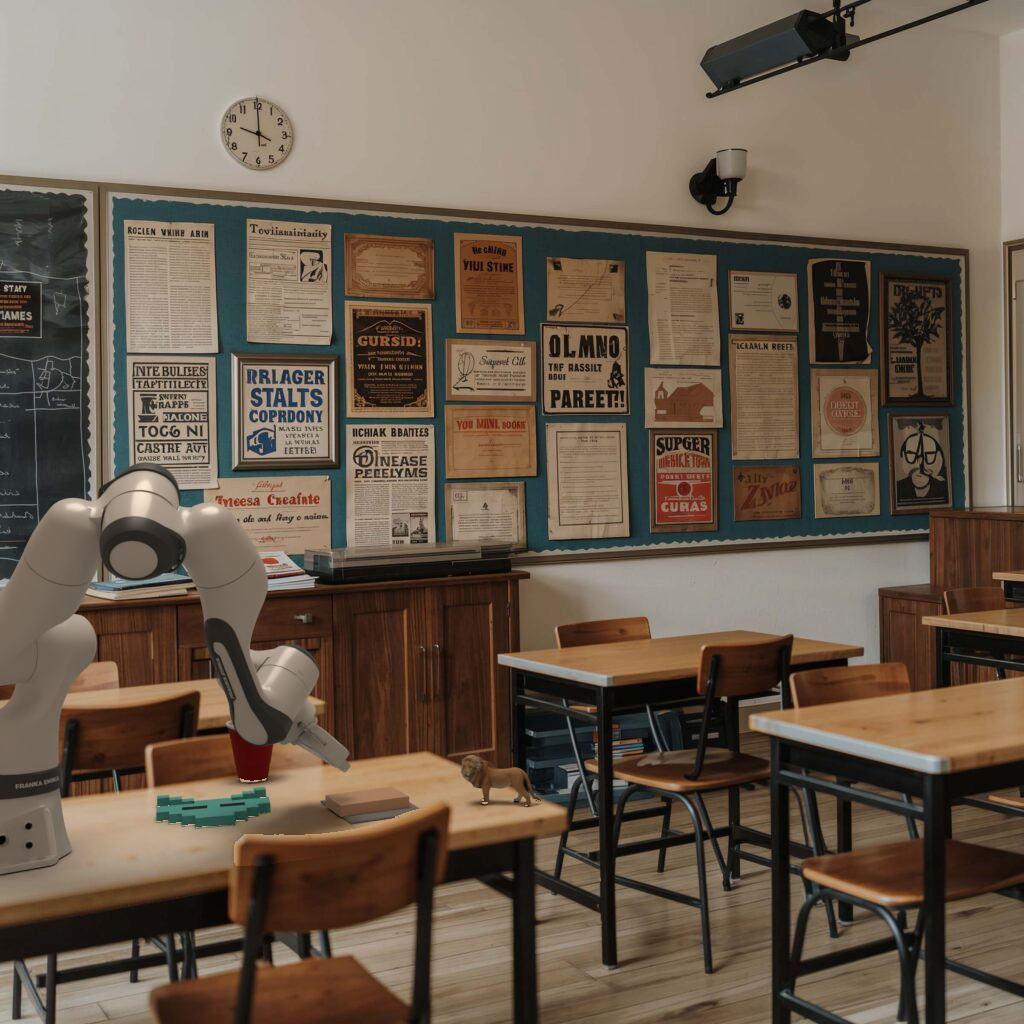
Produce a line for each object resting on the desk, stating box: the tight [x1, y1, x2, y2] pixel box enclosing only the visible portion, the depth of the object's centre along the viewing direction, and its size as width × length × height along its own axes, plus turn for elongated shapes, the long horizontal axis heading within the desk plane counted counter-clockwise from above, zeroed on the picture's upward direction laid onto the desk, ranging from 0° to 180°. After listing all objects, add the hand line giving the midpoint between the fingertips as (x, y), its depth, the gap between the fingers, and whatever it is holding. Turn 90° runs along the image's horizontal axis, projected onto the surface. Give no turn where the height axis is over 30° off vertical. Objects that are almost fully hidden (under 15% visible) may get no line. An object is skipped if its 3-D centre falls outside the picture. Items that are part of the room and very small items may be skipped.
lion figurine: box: [460, 754, 542, 806], centre depth 226 cm, size 15×5×9 cm, turn 85°
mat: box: [320, 799, 420, 825], centre depth 225 cm, size 14×18×1 cm
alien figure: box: [155, 786, 271, 828], centre depth 224 cm, size 20×2×20 cm
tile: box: [324, 786, 410, 818], centre depth 225 cm, size 2×9×13 cm
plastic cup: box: [225, 719, 274, 781], centre depth 250 cm, size 11×11×12 cm
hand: (345, 768), depth 223 cm, fingers closed
